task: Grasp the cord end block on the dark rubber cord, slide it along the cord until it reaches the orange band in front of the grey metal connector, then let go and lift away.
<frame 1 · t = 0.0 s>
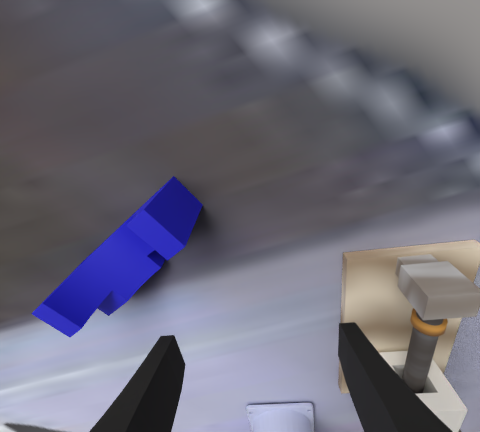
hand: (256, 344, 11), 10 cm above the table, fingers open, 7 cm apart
blue stepped block: (147, 238, 21), on the table
cord end block: (410, 391, 22), point 4 cm above the table, slide at 0.0 cm
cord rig: (394, 325, 24), on the table
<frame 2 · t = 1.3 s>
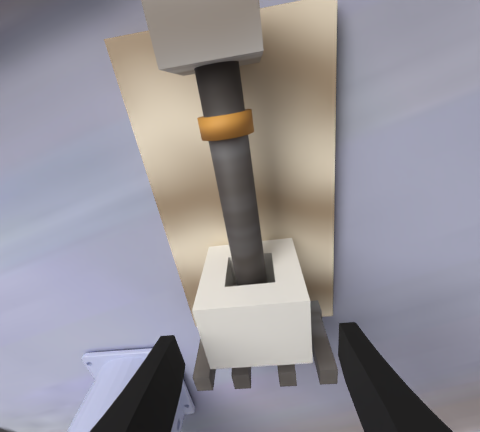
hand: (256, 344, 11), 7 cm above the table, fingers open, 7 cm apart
cord end block: (254, 298, 14), point 4 cm above the table, slide at 0.0 cm
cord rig: (245, 203, 15), on the table
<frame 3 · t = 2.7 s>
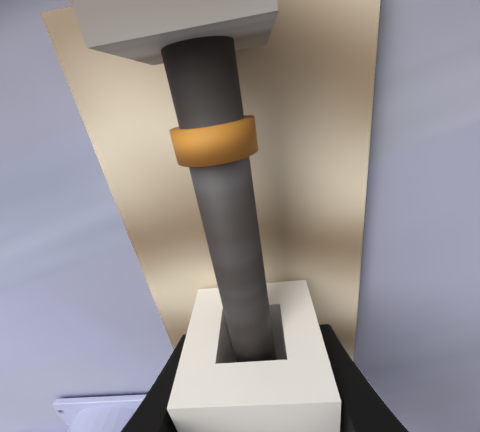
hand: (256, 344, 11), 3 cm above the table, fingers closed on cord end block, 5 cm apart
cord end block: (257, 364, 10), point 4 cm above the table, slide at 0.0 cm, touching gripper
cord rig: (245, 233, 12), on the table
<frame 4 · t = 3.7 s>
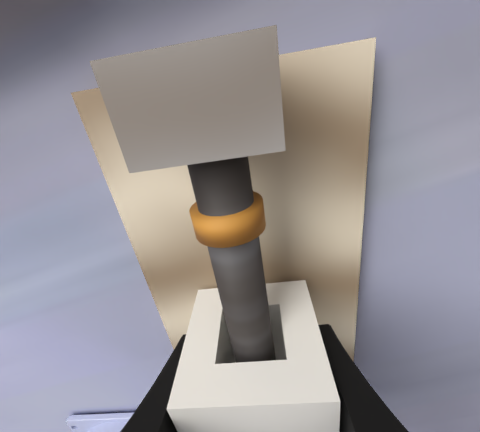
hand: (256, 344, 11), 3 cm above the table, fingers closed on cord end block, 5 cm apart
cord end block: (256, 364, 10), point 4 cm above the table, slide at 2.2 cm, touching gripper
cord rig: (250, 269, 13), on the table
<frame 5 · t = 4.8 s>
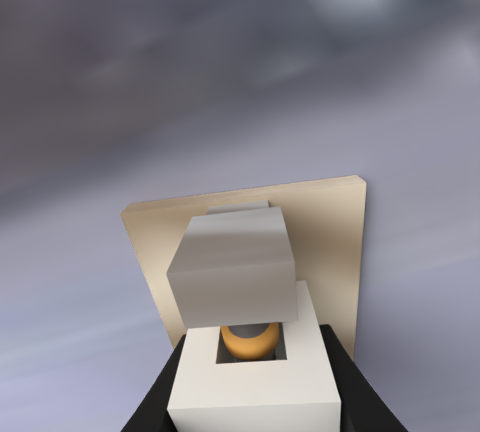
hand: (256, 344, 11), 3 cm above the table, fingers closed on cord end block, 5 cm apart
cord end block: (257, 364, 10), point 4 cm above the table, slide at 6.8 cm, touching gripper
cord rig: (261, 332, 15), on the table
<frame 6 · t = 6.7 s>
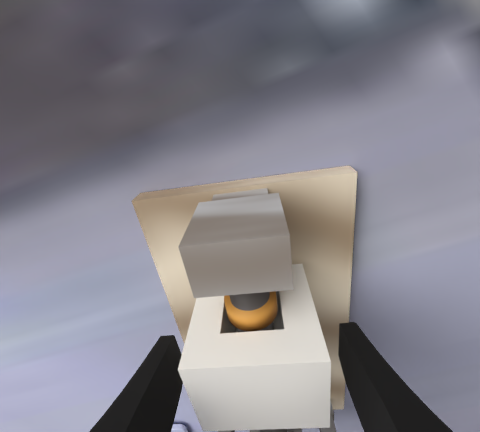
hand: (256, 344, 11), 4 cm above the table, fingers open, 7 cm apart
cord end block: (257, 339, 11), point 4 cm above the table, slide at 6.8 cm
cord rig: (261, 315, 16), on the table
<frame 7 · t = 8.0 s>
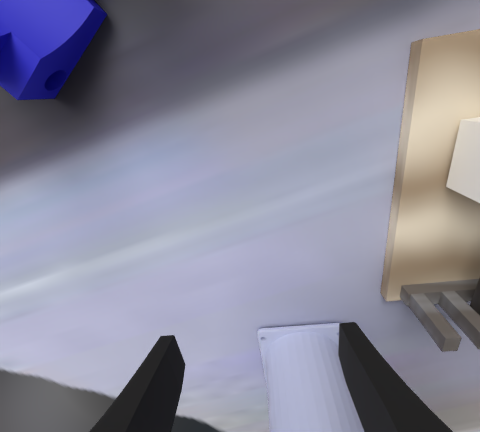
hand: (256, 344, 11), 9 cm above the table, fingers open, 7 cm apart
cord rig: (469, 186, 17), on the table
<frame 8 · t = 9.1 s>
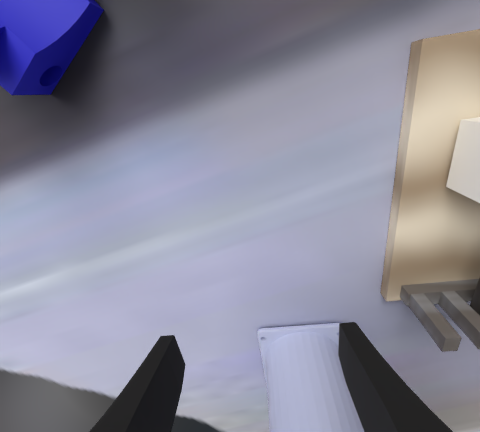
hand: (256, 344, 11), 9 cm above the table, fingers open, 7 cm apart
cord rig: (469, 186, 17), on the table
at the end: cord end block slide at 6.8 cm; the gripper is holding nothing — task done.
